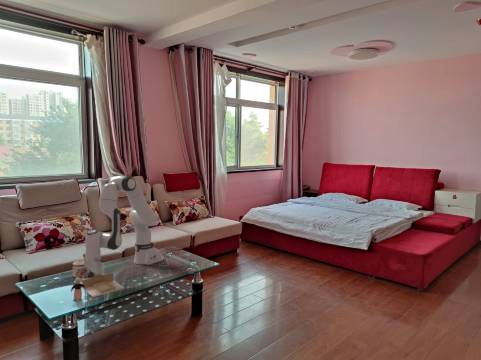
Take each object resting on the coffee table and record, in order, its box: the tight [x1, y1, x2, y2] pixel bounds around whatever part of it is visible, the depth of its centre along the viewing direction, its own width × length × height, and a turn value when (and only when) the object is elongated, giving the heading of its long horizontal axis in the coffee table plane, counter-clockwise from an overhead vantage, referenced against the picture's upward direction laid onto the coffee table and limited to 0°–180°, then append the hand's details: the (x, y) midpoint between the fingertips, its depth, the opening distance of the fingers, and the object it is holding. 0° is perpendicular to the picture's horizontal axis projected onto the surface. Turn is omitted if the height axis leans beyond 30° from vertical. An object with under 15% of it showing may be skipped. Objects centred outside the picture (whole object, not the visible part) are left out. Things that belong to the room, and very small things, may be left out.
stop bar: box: [85, 271, 101, 279], centre depth 217 cm, size 8×4×5 cm, turn 135°
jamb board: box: [73, 272, 125, 298], centre depth 211 cm, size 19×29×6 cm, turn 45°
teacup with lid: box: [72, 258, 89, 278], centre depth 227 cm, size 12×9×12 cm
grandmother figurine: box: [70, 277, 86, 302], centre depth 191 cm, size 8×4×13 cm, turn 126°
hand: (93, 277), depth 217 cm, fingers closed on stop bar, 4 cm apart
